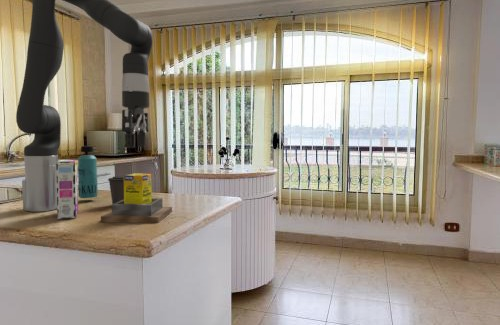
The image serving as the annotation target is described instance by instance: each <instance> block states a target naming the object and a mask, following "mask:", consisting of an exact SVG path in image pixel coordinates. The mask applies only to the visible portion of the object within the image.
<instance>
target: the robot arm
mask: <svg viewBox="0 0 500 325" xmlns="http://www.w3.org/2000/svg"><path fill="white" fill-rule="evenodd" d="M62 1H63V2H65V3H68V4H71V5H73V6H76V7H77V8H80V10H82V11H84V12H85V13H86V15H88V16H89V17H90V18H91V19H93V21H94V22H96V23H98V25H100V26H102V27H104V28H105V29H107V30H109V31H110V32H111V33H112V34H113V35H114V36H116V37H117V38H118V39H119V40H121V41H122V42H124V43H126V44H129V45H130V46H131V47H130V52H127V53H125V54H124V55H123V56H122V79H121V106H122V107H123V108H127V109H122V110H121V131H122V133H123V132H124V134H125V142H126V143H125V147H126V148H127V149H128V148H130V149H131V148H132V149H135V147H136V135H135V133H136V132H137V147H140V148H145V147H146V144H147V143H146V142H147V141H146V135H147V133H149V113H148V112H145V111H144V109H149V108H150V80H149V59H150V56H151V51H152V47H153V42H154V40H153V32H152V30H151V27H150V26H148V25H147V24H145V22H142V21H140V20H139V19H137V18H135V17H133V16H131V15H130V14H128V13H127V12H125V11H124V10H123V9H121V8H120V7H119V6H117V5H116V4H114V3H112V2H111V1H109V0H62ZM31 8H32V10H31V20H30V21H31V22H30V29H29V30H30V31H29V32H30V33H29V37H28V42H27V43H28V44H27V51H26V52H27V53H26V62H25V70H24V78H23V83H22V89H21V92H20V96H19V99H18V103H17V109H16V114H15V115H16V116H15V118H16V119H15V120H16V125H17V127H18V128H19V130H20V131H21V132H22V133H24V134H29V135H34V136H33V137H34V138H33V140H32V141H31V143H29V144H28V145H25V146H24V148H23V156H24V157H23V158H24V160H23V161H24V163H23V164H24V179H22V181H21V187H22V190H21V191H22V211H27V212H35V213H36V212H37V213H38V212H48V211H53V210H57V173H56V162H58V161H59V149H60V146H61V140H62V139H61V135H62V133H61V132H62V131H61V130H62V124H61V123H62V121H61V116H60V113H59V111H58V110H57V109H56V108H55V107H53V106H50V105H46V104H44V102H45V95H46V91H47V88H48V87H49V85H50V84H51V82H52V81H53V80H54V78H55V77H56V76H57V74H58V72H59V71H60V69H61V66H62V61H63V57H64V56H63V55H64V49H65V48H64V47H65V45H64V39H63V35H62V32H61V29H60V26H59V23H58V20H57V17H56V16H57V15H56V0H32V6H31Z"/></svg>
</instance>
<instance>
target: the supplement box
mask: <svg viewBox="0 0 500 325" xmlns="http://www.w3.org/2000/svg"><path fill="white" fill-rule="evenodd" d="M123 175H124V204H150V203H152V198H153V197H152V196H153V194H152V173H135V172H134V173H129V174H123Z"/></svg>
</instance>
